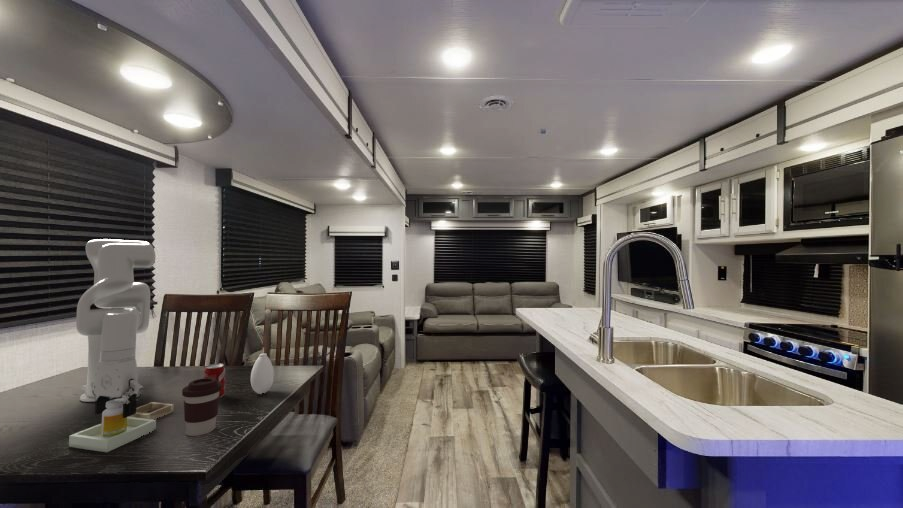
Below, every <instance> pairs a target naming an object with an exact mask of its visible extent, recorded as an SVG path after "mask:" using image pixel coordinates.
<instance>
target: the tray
mask: <svg viewBox="0 0 903 508" xmlns="http://www.w3.org/2000/svg"><path fill="white" fill-rule="evenodd" d="M101 425H102V422H101V423H99V424H96V425H94V426H91V427H89V428H86V429H83V430H81V431H77V432H75V433H73V434H71V435H69V436H68V438H69V439H68V447H69V448H75V449H80V450H81V449H83V450H89V451H95V452H103V453H109V452H112V451H114V450H115V449H118V448H119V447H121V446H124V445H126V444H128V443H131V442H133V441H135V440H136V439H139V438H141V436H142V437H143V435H144V436H146V435H148V434H150V433H153V432H155V431H156V430H157V419H155V420H152V419H144V418H136V417H127V431H126V432H123V433H121V434H119V435H116V436H114V437H112V438H109V439H107V438H101ZM154 430H155V431H154ZM152 431H153V432H152ZM149 432H150V433H149Z"/></svg>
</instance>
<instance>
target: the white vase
mask: <svg viewBox="0 0 903 508" xmlns="http://www.w3.org/2000/svg"><path fill="white" fill-rule="evenodd" d="M267 354H268V353H265V348H264V347H262V353H260V354H259V356H258V357H257V359H256V360H255V362H254V364H253V367H252V369H251V372H250V385H251V388H252V390H253V391H254V392H255V393H256V394H258V395H263V394H262V393H264V394H265V393H267V392H268V391H270V389H271V387H272V385H273V383H274V377H275V372H274V367H273V363H272V361H271V358H270V357H268V355H267Z"/></svg>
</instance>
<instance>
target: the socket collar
mask: <svg viewBox="0 0 903 508" xmlns="http://www.w3.org/2000/svg"><path fill="white" fill-rule="evenodd" d="M174 406H175V404H174V403H173V404H172V403H164V402H155V401H151V402H149V403H146V404H143V405H140V406H138V407H136V414H134V415H131V416H129V417H136V418H144V419H152V420H154V419H155V420H158V419H159V417H160V418H162V417H165V416H167V415H169V414H171V413H174V409H175V407H174ZM149 411H150V412H149ZM164 415H165V416H164ZM157 418H158V419H157Z"/></svg>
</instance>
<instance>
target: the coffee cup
mask: <svg viewBox="0 0 903 508" xmlns="http://www.w3.org/2000/svg"><path fill="white" fill-rule="evenodd" d="M221 389H222V383H220V382H217V380H216V379H214V378H204V377H203V378H198V379H194V380H192V381H190V382H189V383H188V385H187V386H185V387H183V388H182V390H181V395H182V396H183V397H184V400H183V412H184V414H183V415H184V417H183V418H184V421H185V434H186V435H187V436H188V437H200V436H203V435H207V434H209V433H211V432H212V431H214V430H215V429H216V426H217V425H216V423H217V417H218V416H217V415H218V413H219V406H220V405H219V403H220V398H219V397H220V395H219V391H220V390H221Z"/></svg>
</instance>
